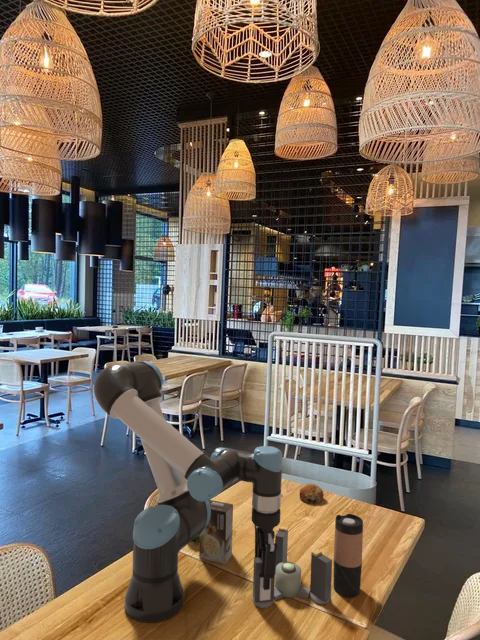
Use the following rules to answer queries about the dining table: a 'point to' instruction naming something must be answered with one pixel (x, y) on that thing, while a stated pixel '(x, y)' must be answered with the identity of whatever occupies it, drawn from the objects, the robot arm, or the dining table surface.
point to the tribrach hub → (289, 581)
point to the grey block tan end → (281, 545)
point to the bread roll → (311, 493)
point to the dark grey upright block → (257, 586)
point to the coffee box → (217, 533)
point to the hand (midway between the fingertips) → (263, 595)
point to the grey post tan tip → (320, 578)
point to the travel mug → (348, 555)
